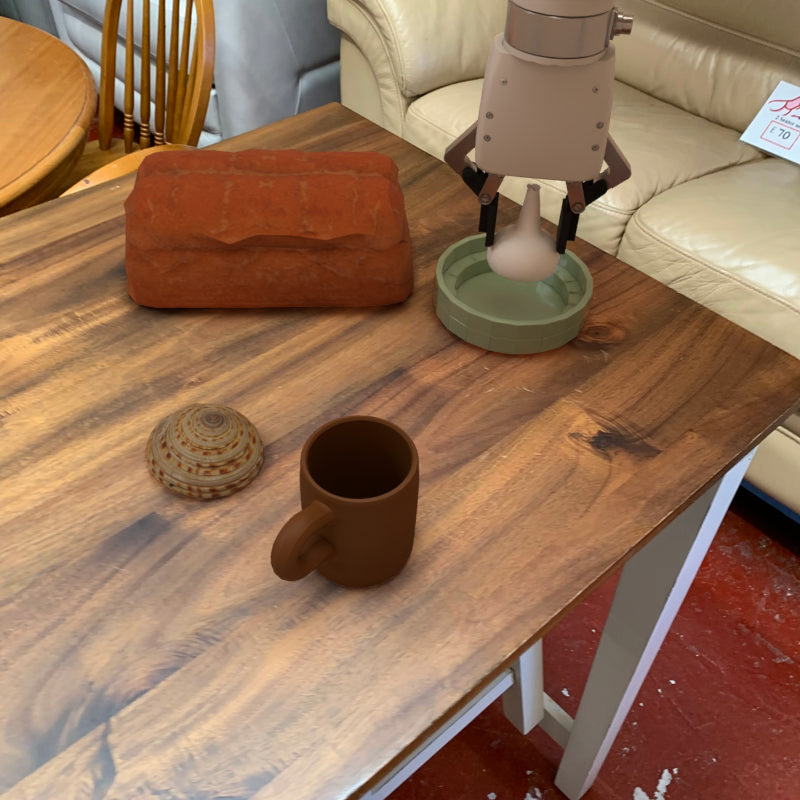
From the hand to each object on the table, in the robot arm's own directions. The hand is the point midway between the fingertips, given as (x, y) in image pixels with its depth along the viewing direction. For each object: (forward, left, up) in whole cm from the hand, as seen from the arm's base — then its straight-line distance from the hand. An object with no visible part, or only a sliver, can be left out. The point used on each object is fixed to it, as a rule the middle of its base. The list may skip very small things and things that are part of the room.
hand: (525, 240), depth 72 cm
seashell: (+22, +23, -8) cm, 33 cm away
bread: (+23, -2, -8) cm, 25 cm away
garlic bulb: (0, 0, -3) cm, 3 cm away
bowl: (0, 0, -8) cm, 8 cm away
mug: (+10, +31, -8) cm, 33 cm away
